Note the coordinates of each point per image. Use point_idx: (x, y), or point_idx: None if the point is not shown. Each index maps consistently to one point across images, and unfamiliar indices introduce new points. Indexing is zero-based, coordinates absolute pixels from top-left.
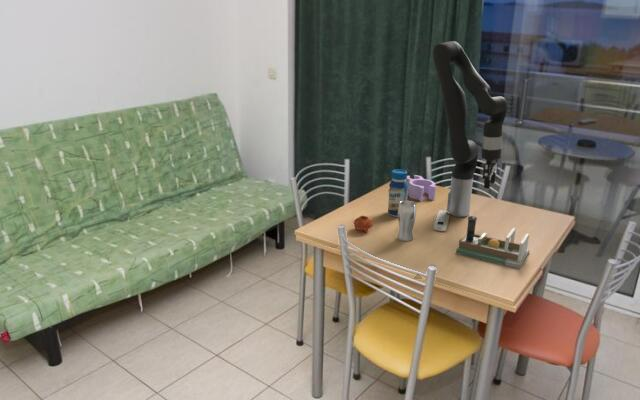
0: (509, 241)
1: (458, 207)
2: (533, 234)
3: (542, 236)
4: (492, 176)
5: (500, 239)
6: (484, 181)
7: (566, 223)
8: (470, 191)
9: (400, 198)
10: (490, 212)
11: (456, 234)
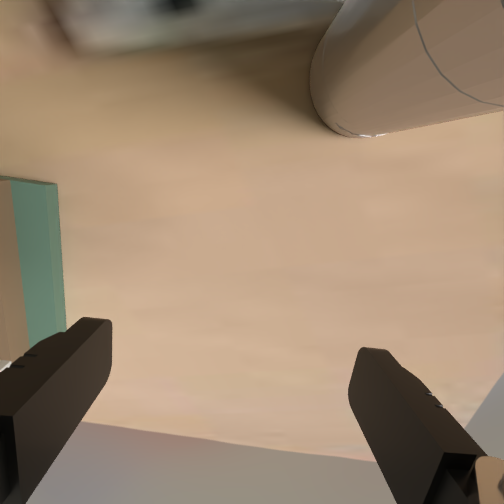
0: (9, 356)
1: (323, 62)
2: (233, 388)
3: (228, 410)
4: (400, 451)
5: (4, 325)
6: (13, 379)
7: (372, 458)
8: (423, 110)
9: None
10: (419, 232)
11: (69, 118)
